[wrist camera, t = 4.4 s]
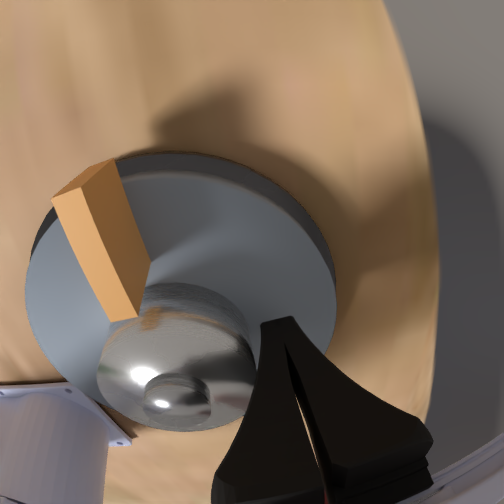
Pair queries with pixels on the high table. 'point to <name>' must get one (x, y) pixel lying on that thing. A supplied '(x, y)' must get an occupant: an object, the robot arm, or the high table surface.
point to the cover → (179, 360)
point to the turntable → (167, 260)
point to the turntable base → (223, 169)
